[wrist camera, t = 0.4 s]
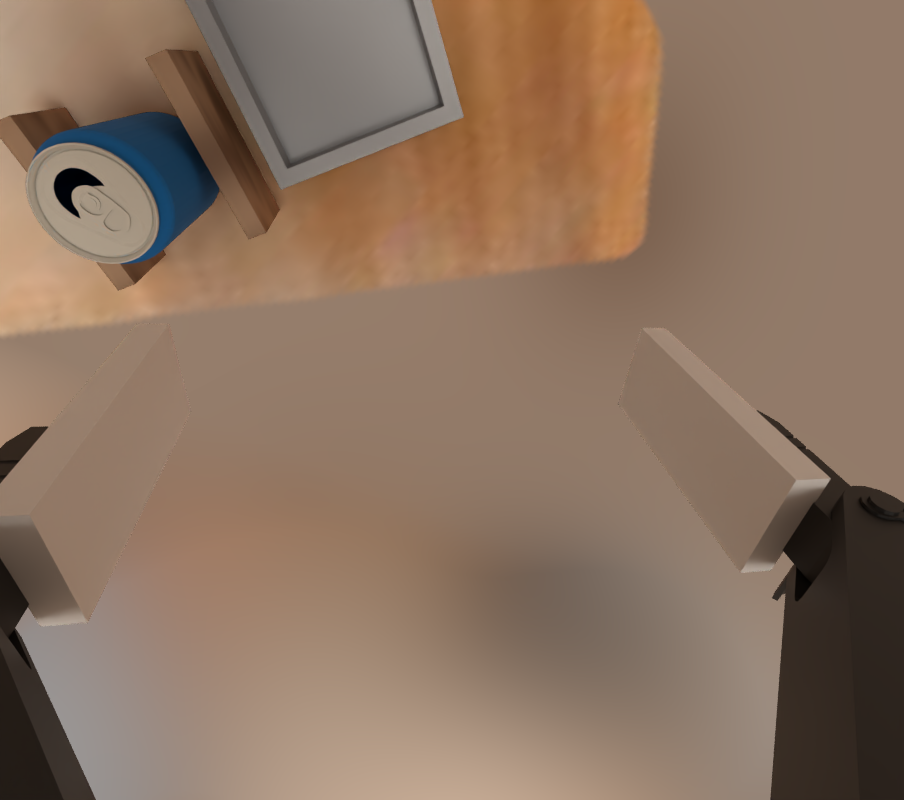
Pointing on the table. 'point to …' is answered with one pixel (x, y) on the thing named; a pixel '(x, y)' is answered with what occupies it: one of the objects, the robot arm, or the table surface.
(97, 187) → the beverage can
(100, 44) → the table surface
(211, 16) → the tray
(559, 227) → the table surface
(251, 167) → the cradle
